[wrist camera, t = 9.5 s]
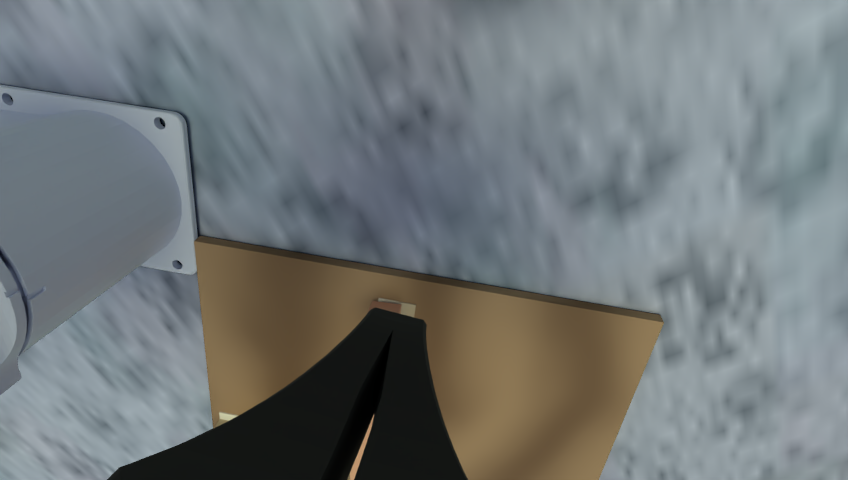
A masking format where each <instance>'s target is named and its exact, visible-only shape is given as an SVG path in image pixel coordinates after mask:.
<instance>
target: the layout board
mask: <svg viewBox="0 0 848 480" xmlns="http://www.w3.org/2000/svg"><path fill="white" fill-rule="evenodd" d="M194 247H195V257H196V266H197V276H198V285H199V295H200V304H201V314H202V324H203V333H204V343H205V352H206V362H207V372H208V381H209V391H210V400H211V410H212V420H213V428H214V427H215V425H216V424H217V422H218V421H219V419H224V420H231V419H233V418H235V417H237V416H239V415H240V414H242V413H244V412H246V411H247V410H249V409H251V408H252V407H254V406H256V405H257V404H259V403H261V402H262V401H264V400H266V399H267V398H269V397H271V396H272V395H274V394H275V393H277V392H278V391H280V390H281V389H283V388H284V387H286V386H287V385H288V384H290V383H291V382H293V381H294V380H295V379H297V378H298V377H299V376H301V375H302V374H303V373H305V372H306V371H307V370H308V369H310V368H311V367H312V366H313V365H315V364H316V363H317V362H318V361H320V360H321V359H322V358H323V357H324V356H326V355H327V354H328V353H329V352H330V351H331V350H332V349H333V348H334V347H336V346H337V345H338V344H339V343H340V342H341V341H342V340H343V339H344V338H345V337H346V336H347V335H348V334H349V333H350V332H351V331H352V330H353V329H354V328H355V327H356V326H357V325H358V324H359V323H360V322H361V321H362V319H363V318H364V317H365V316H366V315H367V312H368V310H369V308H370V305H371V303H372V301H378V302H385V303H392V304H399V305H401V314H403V315H407V316H411V317H415V318H419V319H422V320H424V321H425V323H426V324H427V327H426V342H427V351H428V359H429V365H430V370H431V375H432V379H433V384H434V388H435V392H436V396H437V400H438V403H439V407H440V410H441V414H442V417H443V420H444V423H445V426H446V429H447V431H448V434H449V437H450V439H451V442H452V445H453V447H454V450H455V452H456V454H457V457H458V459H459V461H460V464H461V466H462V468H463V470H464V472H465V474H466V476H467V478H468V480H599V477H600V475H601V472H602V470H603V468H604V465H605V463H606V460H607V458H608V456H609V453H610V451H611V448H612V446H613V444H614V441H615V439H616V436H617V434H618V432H619V429H620V427H621V424H622V422H623V420H624V417H625V415H626V412H627V410H628V408H629V405H630V403H631V400H632V398H633V396H634V393H635V391H636V388H637V386H638V384H639V381H640V379H641V376H642V374H643V372H644V369H645V367H646V364H647V362H648V360H649V357H650V355H651V352H652V350H653V348H654V345H655V343H656V340H657V338H658V336H659V333H660V331H661V328H662V326H663V324H664V322H663V320H662V318H661V316H660V315H658V314H652V313H646V312H640V311H635V310H629V309H623V308H617V307H611V306H606V305H600V304H594V303H588V302H582V301H576V300H571V299H565V298H559V297H553V296H547V295H542V294H536V293H530V292H524V291H518V290H513V289H507V288H501V287H495V286H489V285H484V284H478V283H472V282H466V281H460V280H455V279H449V278H443V277H437V276H431V275H426V274H420V273H414V272H408V271H402V270H397V269H391V268H385V267H379V266H373V265H368V264H362V263H356V262H350V261H344V260H339V259H333V258H327V257H321V256H315V255H310V254H304V253H298V252H292V251H286V250H281V249H275V248H269V247H263V246H257V245H252V244H246V243H240V242H234V241H228V240H223V239H217V238H211V237H205V236H200V237H198V238H197V239H196V240H195V241H194Z"/></svg>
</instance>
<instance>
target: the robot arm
mask: <svg viewBox="0 0 848 480" xmlns="http://www.w3.org/2000/svg"><path fill="white" fill-rule="evenodd" d="M10 96H11V97H12V99H13V101H12V100H11V98H10ZM160 118H162V119H163V120H164V121H165V124H166V126H165V127H164V126H162V124H161V123H160V121H159V120H160ZM197 238H198V234H197V224H196V214H195V204H194V194H193V184H192V174H191V164H190V154H189V144H188V134H187V125H186V121H185V119H184V118H183V116H182V115H180V114H179V113H177V112H174V111H167V110H161V109H154V108H148V107H141V106H135V105H128V104H122V103H116V102H109V101H103V100H96V99H90V98H83V97H77V96H71V95H64V94H58V93H51V92H45V91H38V90H32V89H25V88H19V87H13V86H6V85H0V395H1V394H2V393H4V392H5V391H6V390H7V389H9V388H10V387H11V386H12V385H14V384H15V383H16V382H17V381H19V380H20V379H21V374H20V371H19V368H18V356H19V355H20V354H22V353H23V352H24V351H26V350H27V349H28V348H30V347H31V346H32V345H34V344H35V343H37V342H38V341H39V340H41V339H42V338H43V337H45V336H46V335H47V334H49V333H50V332H51V331H53V330H54V329H55V328H57V327H58V326H59V325H61V324H62V323H63V322H65V321H66V320H67V319H69V318H70V317H71V316H73V315H74V314H76V313H77V312H78V311H80V310H81V309H82V308H84V307H85V306H86V305H88V304H89V303H90V302H92V301H93V300H94V299H96V298H97V297H98V296H100V295H101V294H102V293H104V292H105V291H106V290H108V289H109V288H110V287H112V286H113V285H115V284H116V283H117V282H119V281H120V280H121V279H123V278H124V277H125V276H127V275H128V274H129V273H131V272H132V271H133V270H135V269H136V268H137V267H139V266H143V267H148V268H154V269H159V270H165V271H171V272H176V273H182V274H187V275H193V274H195V273H196V272H197V266H196V257H195V247H194V241H195V240H196V239H197ZM177 260H178V261H180V262H181V263H182V265H180V264H179V263H178V262H177ZM426 327H427V324H426V323H425V321H424V320H422V319H419V318H415V317H411V316H407V315H403V314H399V313H395V312H391V311H388V310H384V309H380V308H376V307H375V308H373V309H371V310H370V311H369V312H368V313H367V315H366V316H365V317H364V318H363V319H362V321H361V322H360V323H359V324H358V325H357V326H356V327H355V328H354V329H353V330H352V331H351V332H350V333H349V334H348V335H347V336H346V337H345V338H344V339H343V340H342V341H341V342H340V343H339V344H338V345H337V346H336V347H334V348H333V349H332V350H331V351H330V352H329V353H328V354H327V355H326V356H324V357H323V358H322V359H321V360H320V361H318V362H317V363H316V364H315V365H313V366H312V367H311V368H310V369H308V370H307V371H306V372H305V373H303V374H302V375H301V376H299V377H298V378H297V379H295V380H294V381H293V382H291V383H290V384H288V385H287V386H286V387H284V388H283V389H281V390H280V391H278V392H277V393H275V394H274V395H272V396H271V397H269V398H267V399H266V400H264V401H262V402H261V403H259V404H257V405H256V406H254V407H252V408H251V409H249V410H247V411H246V412H244V413H242V414H240V415H239V416H237V417H235V418H233V419H231V420H229V421H227V422H226V423H223V424H221V425H219V426H217V427H215V428H213V429H211V430H209V431H207V432H205V433H203V434H201V435H199V436H197V437H195V438H192V439H190V440H188V441H186V442H184V443H182V444H179V445H177V446H175V447H172V448H170V449H167V450H164V451H162V452H159V453H157V454H154V455H151V456H149V457H146V458H144V459H141V460H139V461H136V462H133V463H131V464H128V465H125V466H122V467H120V468H118V469H117V470H116V471H115V472H114V473H113V474H112V475H111V476H110V477H109V478H108V479H107V480H347V479H348V477H349V474H350V472H351V469H352V467H353V464H354V462H355V459H356V457H357V455H358V452H359V450H360V447H361V445H362V442H363V440H364V437H365V435H366V433H367V430H368V428H369V425H370V423H371V420H372V418H373V415H374V418H373V423H372V428H371V431H370V434H369V437H368V440H367V443H366V446H365V449H364V452H363V455H362V458H361V461H360V464H359V467H358V470H357V473H356V475H355V478H354V480H468V478H467V476H466V474H465V472H464V470H463V468H462V466H461V464H460V461H459V459H458V457H457V454H456V452H455V450H454V447H453V445H452V442H451V439H450V437H449V434H448V431H447V429H446V426H445V423H444V420H443V417H442V414H441V410H440V407H439V403H438V400H437V396H436V392H435V388H434V384H433V379H432V375H431V370H430V365H429V359H428V351H427V342H426Z"/></svg>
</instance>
